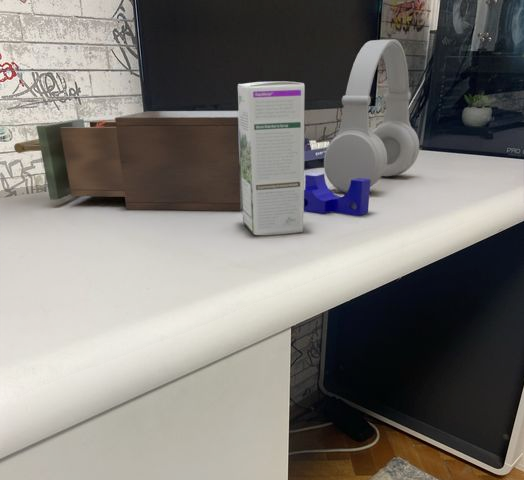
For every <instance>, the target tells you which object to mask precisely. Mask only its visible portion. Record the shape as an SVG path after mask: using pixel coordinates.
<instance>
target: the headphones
mask: <svg viewBox="0 0 524 480" xmlns="http://www.w3.org/2000/svg"><path fill="white" fill-rule="evenodd" d="M381 57H382V58H383V62H384V66H385V72H386V81H387V92H386V95H385V97H386V99H385V100H386V108H385V110H384V115H383V119H382V122H381V123H380V124H379V125H378V126H377V127H375V128H374V129H373V130H372V131H371V129H370V117H369V106H370V105H371V102H372V101H371V100H372V98H371V95H370V94H371V90H372V85H373V81H374V77H375V74H376V70H377V67H378V65H379V63H380V59H381ZM349 74H350V75H349V78H348V82H347V86H346V91H345V95H343V96H342V97H341V104H342V106H343V107H342V113H341V114H342V115H341V119H340V125H339V130H338V131H337V133H336V135H335V137H333V138H332V139H331V141H330V142H329V143H328V145H327V146H326V149H325V152H324V157H323V169H324V172H325V173H324V174H325V176H326V178H327V180H328V181H329V183H330V184H331V185H332V186H333V187H334V188H335V189H336V190H338V191H340V192H343V193H344V194H346V193H347V191H348V190H349V187H350V184H351V180H353V179H357V178H366V179H371V181H370V188H371V187H373V186H374V185H375V184H377V182H379V181H380V179H381V178H382V177H393V176H398V175H402V174H404V173H405V172H407V171H408V170H409V169H410V168H411V167H413V166H414V164H415V162H416V161H417V159H418V156H419V154H420V140H419V137H418V134H417V132H416V130H415V129H414V128H413V127H412V124H411V122H410V111H409V108H410V107H409V103H410V100H411V96H412V93H411V91H410V85H409V71H408V62H407V56H406V53H405V49H404V47H403V46H402V44H401V43H400V41H398V40H397V39H375V40H373V39H372V40H369V41H367V42H365V43H364V44H363V46H362V47H361V48H360V50H359V52H358V53H357V55H356V57H355V59H354V62H353V64H352V68H351V71H350V73H349Z"/></svg>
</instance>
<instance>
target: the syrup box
mask: <svg viewBox="0 0 524 480" xmlns="http://www.w3.org/2000/svg"><path fill="white" fill-rule="evenodd" d="M305 88H306V87H305V83H304V82H299V81H298V82H296V81H279V80H277V81H255V82H254V81H253V82H246V83H238V84H237V103H238V106H237V108H238V111H239V135H240V157H241V184H242V207H243V208H242V224H243V225H244V226H245V227H246V228H247V229H248V230H249V231H250V233H252V235H254V236H275V235H276V236H277V235H285V234H286V235H287V234H296V233H303V232H304V218H305V217H304V215H305V214H304V187H305V97H306V96H305V95H306V93H305V91H306V90H305Z"/></svg>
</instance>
